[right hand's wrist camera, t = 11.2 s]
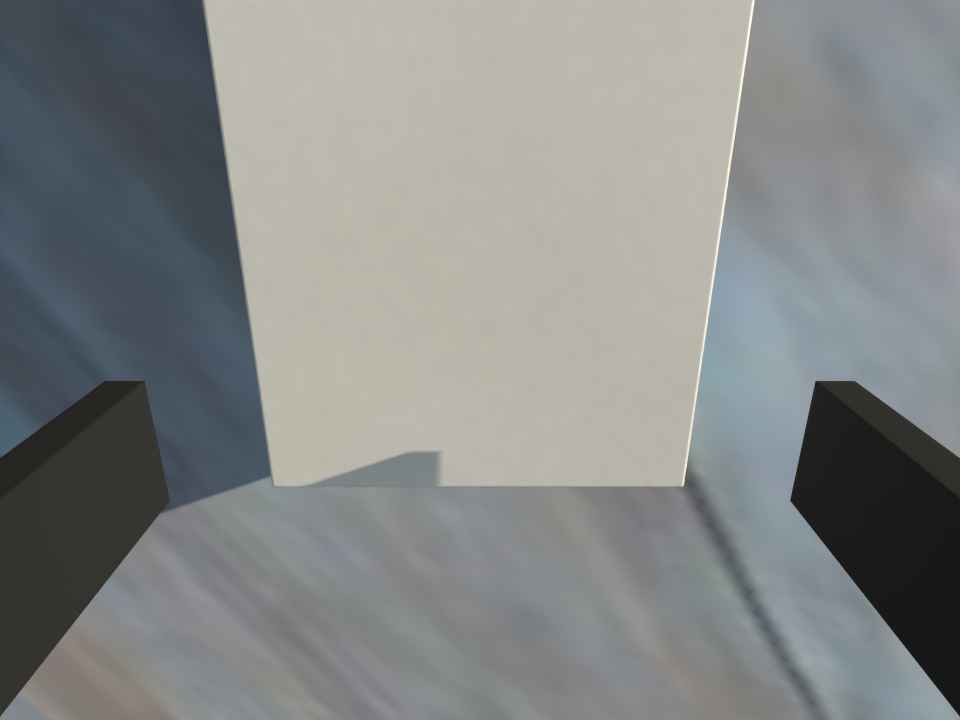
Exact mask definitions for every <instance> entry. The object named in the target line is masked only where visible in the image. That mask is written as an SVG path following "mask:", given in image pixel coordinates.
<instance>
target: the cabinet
mask: <svg viewBox="0 0 960 720" xmlns="http://www.w3.org/2000/svg"><path fill="white" fill-rule="evenodd" d="M202 2H203V9H204V16H205V23H206V30H207V37H208V44H209V51H210V58H211V65H212V72H213V78H214V85H215V92H216V99H217V106H218V113H219V120H220V127H221V134H222V141H223V148H224V155H225V161H226V168H227V175H228V182H229V189H230V196H231V203H232V210H233V217H234V224H235V231H236V238H237V244H238V251H239V258H240V265H241V272H242V279H243V286H244V293H245V300H246V307H247V314H248V321H249V327H250V334H251V341H252V348H253V355H254V362H255V369H256V376H257V383H258V390H259V397H260V404H261V410H262V417H263V424H264V431H265V438H266V445H267V452H268V459H269V466H270V473H271V480H272V485H273V486H274V487H683V485H684V479H685V472H686V465H687V459H688V452H689V445H690V438H691V431H692V424H693V418H694V411H695V404H696V397H697V390H698V383H699V377H700V370H701V363H702V356H703V349H704V342H705V336H706V329H707V322H708V315H709V308H710V301H711V294H712V288H713V281H714V274H715V267H716V260H717V253H718V247H719V240H720V233H721V226H722V219H723V212H724V206H725V199H726V192H727V185H728V178H729V171H730V165H731V158H732V151H733V144H734V137H735V130H736V124H737V117H738V110H739V103H740V96H741V89H742V82H743V76H744V69H745V62H746V55H747V48H748V41H749V35H750V28H751V21H752V14H753V7H754V0H202Z"/></svg>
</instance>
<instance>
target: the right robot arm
mask: <svg viewBox="0 0 960 720" xmlns="http://www.w3.org/2000/svg"><path fill="white" fill-rule="evenodd" d="M169 501H170V500H169V495H168V490H167V486H166V481H165V476H164V472H163V467H162V462H161V457H160V453H159V448H158V443H157V439H156V434H155V429H154V424H153V420H152V415H151V410H150V406H149V401H148V396H147V391H146V387H145V382H144V381H105V382H103V383H102V384H101V385H99V386H98V387H97V388H95V389H94V390H92V391H91V392H90V393H88V394H87V395H86V396H84V397H83V398H82V399H80V400H79V401H77V402H76V403H75V404H73V405H72V406H71V407H69V408H68V409H67V410H65V411H64V412H62V413H61V414H60V415H58V416H57V417H56V418H54V419H53V420H52V421H50V422H49V423H48V424H46V425H45V426H43V427H42V428H41V429H39V430H38V431H37V432H35V433H34V434H33V435H31V436H30V437H28V438H27V439H26V440H24V441H23V442H22V443H20V444H19V445H18V446H16V447H15V448H14V449H12V450H11V451H9V452H8V453H7V454H5V455H4V456H3V457H1V458H0V716H1V715H2V713H3V712H4V711H5V710H6V708H7V707H8V706H9V705H10V703H11V702H12V701H13V699H14V698H15V697H16V696H17V694H18V693H19V692H20V691H21V689H22V688H23V687H24V685H25V684H26V683H27V682H28V680H29V679H30V678H31V677H32V675H33V674H34V673H35V671H36V670H37V669H38V668H39V666H40V665H41V664H42V663H43V661H44V660H45V659H46V657H47V656H48V655H49V654H50V652H51V651H52V650H53V649H54V647H55V646H56V645H57V643H58V642H59V641H60V640H61V638H62V637H63V636H64V635H65V633H66V632H67V631H68V629H69V628H70V627H71V626H72V624H73V623H74V622H75V621H76V619H77V618H78V617H79V615H80V614H81V613H82V612H83V610H84V609H85V608H86V607H87V605H88V604H89V603H90V601H91V600H92V599H93V598H94V596H95V595H96V594H97V593H98V591H99V590H100V589H101V587H102V586H103V585H104V584H105V582H106V581H107V580H108V579H109V577H110V576H111V575H112V573H113V572H114V571H115V570H116V568H117V567H118V566H119V565H120V563H121V562H122V561H123V559H124V558H125V557H126V556H127V554H128V553H129V552H130V551H131V549H132V548H133V547H134V545H135V544H136V543H137V542H138V540H139V539H140V538H141V537H142V535H143V534H144V533H145V531H146V530H147V529H148V528H149V526H150V525H151V524H152V523H153V521H154V520H155V519H156V517H157V516H158V515H159V514H160V512H161V511H162V510H163V509H164V507H165V506H166V505H167V503H168V502H169ZM790 501H791V502H792V503H793V505H794V506H795V507H796V509H797V510H798V511H799V512H800V514H801V515H802V516H803V517H804V519H805V520H806V521H807V523H808V524H809V525H810V526H811V528H812V529H813V530H814V531H815V533H816V534H817V535H818V537H819V538H820V539H821V540H822V542H823V543H824V544H825V545H826V547H827V548H828V549H829V551H830V552H831V553H832V554H833V556H834V557H835V558H836V559H837V561H838V562H839V563H840V565H841V566H842V567H843V568H844V570H845V571H846V572H847V573H848V575H849V576H850V577H851V579H852V580H853V581H854V582H855V584H856V585H857V586H858V587H859V589H860V590H861V591H862V593H863V594H864V595H865V596H866V598H867V599H868V600H869V601H870V603H871V604H872V605H873V607H874V608H875V609H876V610H877V612H878V613H879V614H880V615H881V617H882V618H883V619H884V621H885V622H886V623H887V624H888V626H889V627H890V628H891V629H892V631H893V632H894V633H895V635H896V636H897V637H898V638H899V640H900V641H901V642H902V643H903V645H904V646H905V647H906V649H907V650H908V651H909V652H910V654H911V655H912V656H913V657H914V659H915V660H916V661H917V663H918V664H919V665H920V666H921V668H922V669H923V670H924V671H925V673H926V674H927V675H928V677H929V678H930V679H931V680H932V682H933V683H934V684H935V685H936V687H937V688H938V689H939V691H940V692H941V693H942V694H943V696H944V697H945V698H946V699H947V701H948V702H949V703H950V705H951V706H952V707H953V708H954V710H955V711H956V712H957V713H958V715H959V716H960V458H959V457H957V456H956V455H955V454H953V453H952V452H951V451H949V450H948V449H946V448H945V447H944V446H942V445H941V444H940V443H938V442H937V441H936V440H934V439H933V438H932V437H930V436H929V435H927V434H926V433H925V432H923V431H922V430H921V429H919V428H918V427H917V426H915V425H914V424H912V423H911V422H910V421H908V420H907V419H906V418H904V417H903V416H902V415H900V414H899V413H898V412H896V411H895V410H893V409H892V408H891V407H889V406H888V405H887V404H885V403H884V402H883V401H881V400H880V399H878V398H877V397H876V396H874V395H873V394H872V393H870V392H869V391H868V390H866V389H865V388H863V387H862V386H861V385H859V384H858V383H857V382H855V381H816V382H815V387H814V391H813V396H812V401H811V406H810V410H809V415H808V420H807V424H806V429H805V434H804V439H803V443H802V448H801V453H800V457H799V462H798V467H797V472H796V476H795V481H794V486H793V490H792V495H791V500H790Z"/></svg>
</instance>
